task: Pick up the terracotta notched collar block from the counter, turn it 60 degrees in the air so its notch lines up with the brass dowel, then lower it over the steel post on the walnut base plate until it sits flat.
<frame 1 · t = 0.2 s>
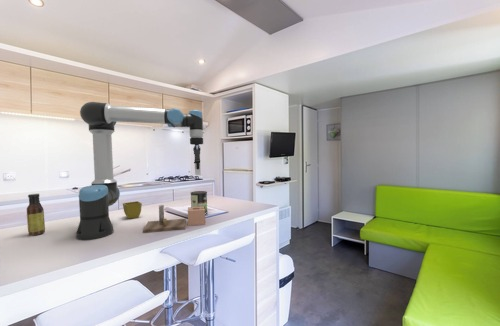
hand: (197, 174, 137), 27 cm above the kitchen island, fingers open, 13 cm apart
coffee can: (199, 214, 151), on the kitchen island
collar: (196, 222, 131), on the kitchen island
sauce bottle: (36, 234, 116), on the kitchen island
base: (165, 226, 125), on the kitchen island
flower pot: (132, 217, 145), on the kitchen island
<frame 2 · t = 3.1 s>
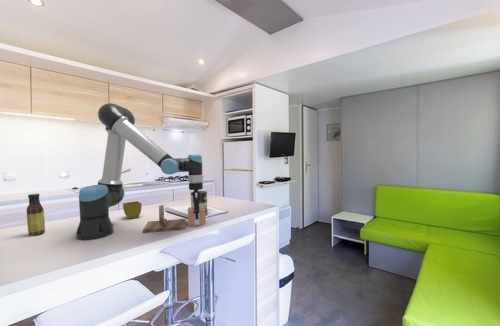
hand: (196, 222, 131), 0 cm above the kitchen island, fingers closed on collar, 9 cm apart
collar: (196, 222, 131), on the kitchen island, touching gripper
everything else where it was.
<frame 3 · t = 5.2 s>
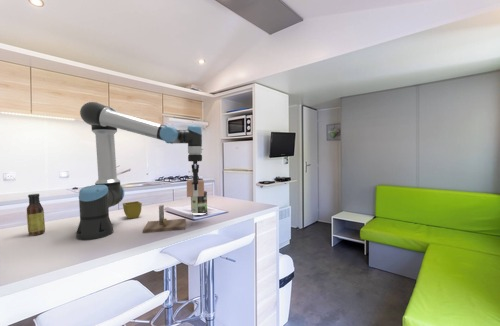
hand: (195, 194, 131), 16 cm above the kitchen island, fingers closed on collar, 9 cm apart
collar: (195, 195, 131), point 16 cm above the kitchen island, touching gripper
everything else where it was.
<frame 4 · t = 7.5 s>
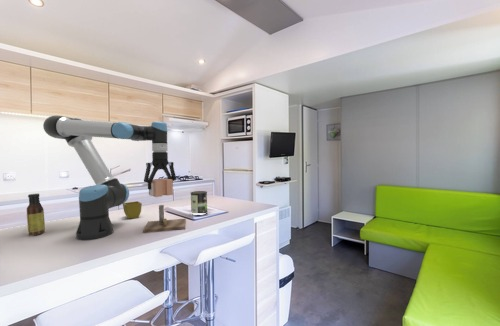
hand: (160, 194, 124), 17 cm above the kitchen island, fingers closed on collar, 9 cm apart
collar: (160, 194, 124), point 17 cm above the kitchen island, touching gripper
everything else where it was.
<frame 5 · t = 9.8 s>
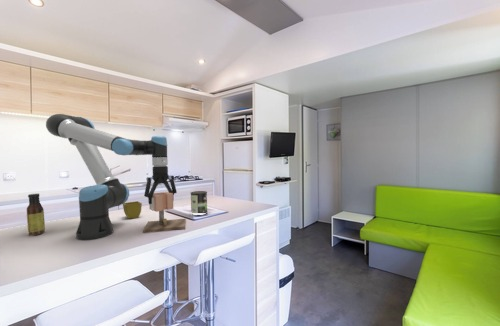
hand: (161, 208, 124), 10 cm above the kitchen island, fingers closed on collar, 9 cm apart
collar: (161, 208, 124), point 10 cm above the kitchen island, touching gripper
everything else where it was.
when the fingers open (3 cm above the kitchen island, at t = 11.9 s): collar drops 1 cm, resting on base.
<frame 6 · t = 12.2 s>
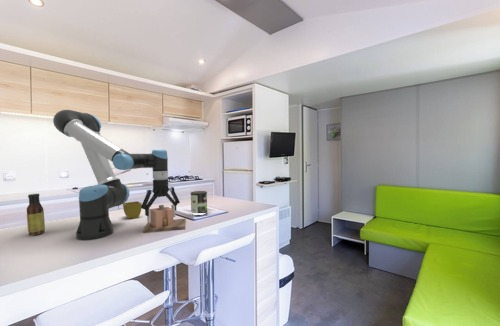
hand: (161, 219, 125), 4 cm above the kitchen island, fingers open, 12 cm apart
collar: (161, 224, 125), point 1 cm above the kitchen island, touching base
everything else where it was.
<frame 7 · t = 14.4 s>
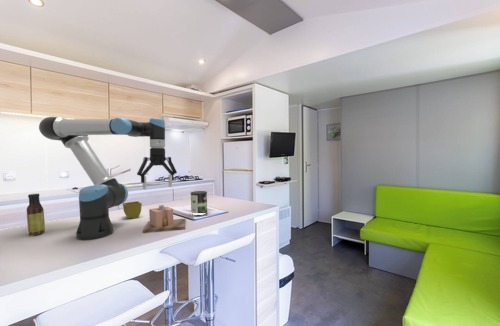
hand: (157, 187, 125), 21 cm above the kitchen island, fingers open, 13 cm apart
nothing on the kitchen island moved.
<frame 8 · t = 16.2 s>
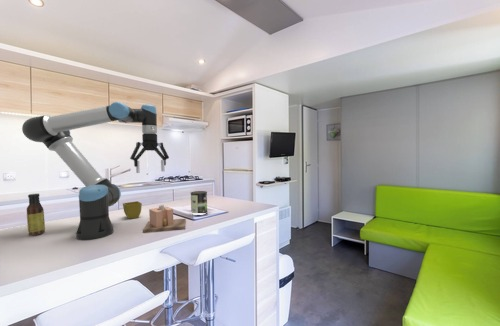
hand: (150, 172, 130), 29 cm above the kitchen island, fingers open, 13 cm apart
nothing on the kitchen island moved.
at the end: collar 0.1 cm from the target spot on the base, point 1.5 cm above the base's base; collar tilted 0°; the gripper is holding nothing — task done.
